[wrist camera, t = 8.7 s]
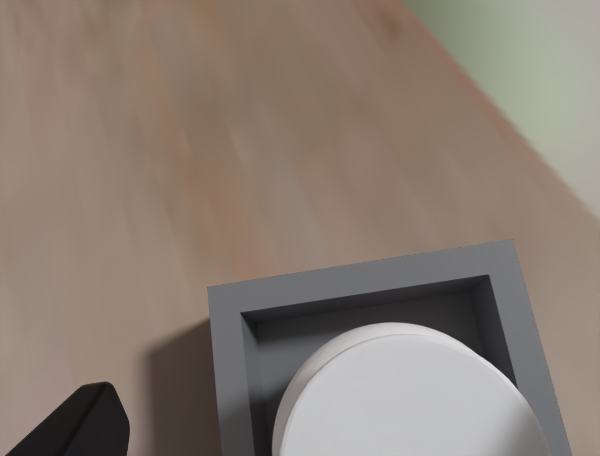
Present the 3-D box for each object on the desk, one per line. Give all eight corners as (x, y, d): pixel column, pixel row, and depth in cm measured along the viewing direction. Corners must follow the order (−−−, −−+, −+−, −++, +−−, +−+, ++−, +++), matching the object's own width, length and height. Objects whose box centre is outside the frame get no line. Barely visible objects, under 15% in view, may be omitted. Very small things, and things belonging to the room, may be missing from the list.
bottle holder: (555, 555, 17) (612, 601, 14) (261, 592, 18) (237, 647, 14) (482, 266, 21) (512, 238, 17) (233, 305, 21) (207, 286, 17)
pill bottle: (266, 433, 18) (175, 481, 9) (368, 311, 19) (383, 238, 10) (394, 559, 17) (447, 774, 8) (499, 420, 18) (663, 457, 8)
